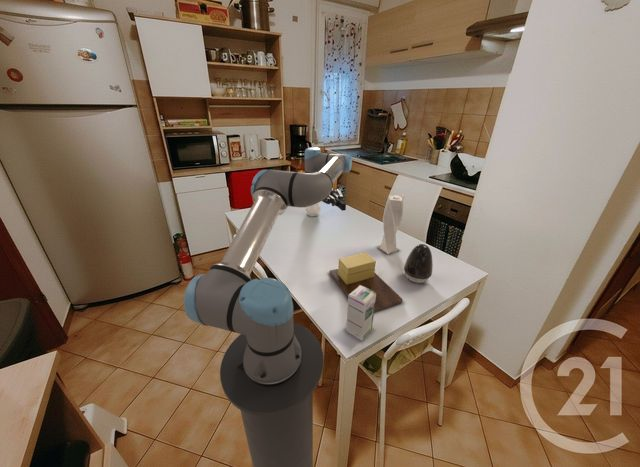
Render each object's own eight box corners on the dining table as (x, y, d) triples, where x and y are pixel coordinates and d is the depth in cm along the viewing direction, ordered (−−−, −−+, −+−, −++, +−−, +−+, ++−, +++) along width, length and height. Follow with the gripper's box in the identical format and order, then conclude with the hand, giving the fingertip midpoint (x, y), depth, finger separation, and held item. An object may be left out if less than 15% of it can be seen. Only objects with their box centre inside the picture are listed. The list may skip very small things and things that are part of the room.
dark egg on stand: (404, 285, 99) (411, 251, 92) (400, 269, 108) (406, 237, 101) (432, 288, 98) (442, 253, 91) (426, 271, 107) (434, 239, 100)
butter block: (346, 284, 97) (347, 276, 95) (337, 274, 102) (338, 265, 100) (373, 276, 101) (375, 268, 99) (364, 267, 107) (364, 259, 105)
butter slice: (347, 275, 95) (347, 268, 93) (338, 265, 100) (338, 258, 99) (375, 267, 99) (375, 261, 98) (364, 258, 105) (365, 252, 103)
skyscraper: (401, 251, 120) (411, 193, 107) (388, 256, 117) (397, 197, 104) (388, 244, 127) (396, 188, 114) (375, 248, 123) (382, 191, 110)
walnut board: (362, 316, 85) (363, 312, 84) (329, 273, 105) (329, 270, 104) (402, 302, 91) (402, 299, 90) (363, 264, 111) (363, 261, 110)
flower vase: (310, 222, 147) (310, 178, 135) (297, 211, 162) (296, 170, 150) (330, 218, 152) (332, 176, 141) (316, 207, 167) (317, 168, 155)
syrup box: (361, 341, 76) (366, 303, 69) (345, 330, 79) (348, 293, 73) (372, 329, 80) (377, 292, 73) (355, 320, 83) (359, 283, 77)
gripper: (333, 193, 124) (357, 213, 106) (307, 197, 120) (328, 218, 101) (333, 178, 121) (359, 196, 102) (307, 181, 116) (329, 200, 97)
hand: (344, 207), depth 101 cm, fingers closed
